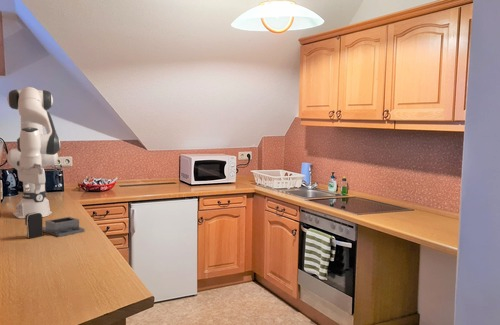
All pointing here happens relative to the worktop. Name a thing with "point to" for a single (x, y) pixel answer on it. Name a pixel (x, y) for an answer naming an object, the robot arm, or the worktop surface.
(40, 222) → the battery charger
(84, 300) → the worktop surface
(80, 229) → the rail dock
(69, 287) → the worktop surface
